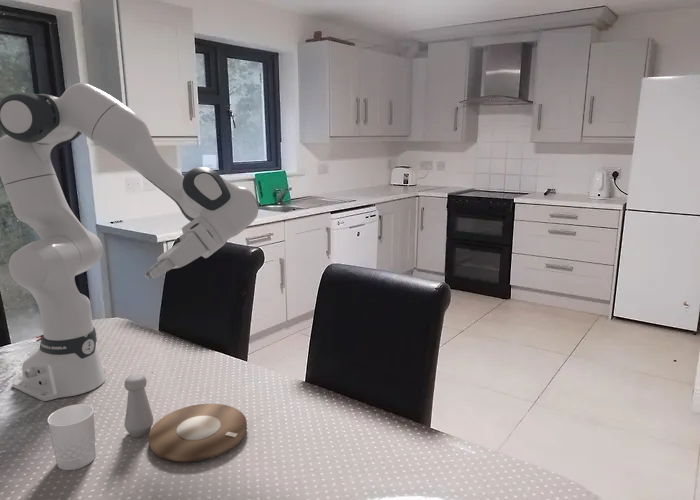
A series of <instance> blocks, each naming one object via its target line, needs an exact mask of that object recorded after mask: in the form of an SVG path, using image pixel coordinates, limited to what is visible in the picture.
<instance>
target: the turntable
mask: <svg viewBox="0 0 700 500" xmlns="http://www.w3.org/2000/svg"><path fill="white" fill-rule="evenodd" d="M247 429H248V425H247V418H246V415H244V413H243V412H242V411H241V410H239V409H237V408H235V407H233V406H231V405H227V404H223V403H221V404H220V403H199V404H194V405H189V406H185V407H182V408H179V409H176V410H173V411H172V412H169V413H167V414H166V415H164V416H162V417H161V418H159V419H158V420H157V422H155V423H154V425H152V427H151V430H150V431H149V433H148V445H149V448H150V450H151V451H152V452H153V453H154V454H155V455H156V456H158V457H161V458H162V459H166V460H168V461H174V462H196V461H202V460H207V459H211V458H213V457H217V456H220V455H222V454H223V453H226V452H228V451H230V450H232V449H233V448H234V447H236V446H237V445H238V444H239V443H240V442H241V441H242V440H243V439H244V437H245V436H246V433H247Z"/></svg>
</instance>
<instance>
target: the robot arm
mask: <svg viewBox="0 0 700 500" xmlns="http://www.w3.org/2000/svg"><path fill="white" fill-rule="evenodd" d="M0 129H1V130H2V131H3V132H4V134H6V135H3V136H2V137H0V179H1V182H2V185H3V187H4V190H5V193H6V195H7V198H8V201H9V203H10V205H11V208H12V210H13V213H14V216H15V217H16V218H17V219H18V221H20V222H22V223H24V224H27V225H28V226H30V228H32V229H33V230H34V231H35V233H36V234H37V235H38V236H39V238H40V239H38V240H35V241H31V242H29V243H26V245H25V244H24V245H23V246H22V247H20V248H19V249H17V250H16V251H14V252H13V253H12V255H11V256H10V258H9V262H8V270H9V271H8V272H9V275H10V276H11V278H12V280H13V281H14V282H15V283H16V284H17V285H19V286H21V287H22V288H24V289H26V290H27V291H28V292H30V294H31V295H32V297H33V299H34V300H35V302H36V305H37V307H38V310H39V315H40V321H41V327H42V335H39V336H36V337H35V341H36V342H40V344H39V347H38V349H37V350H36V351H35V352H33V353H32V354H31V355H30V356H28V357H27V358H26V359H25V360H24V361H23V363H22V367H21V369H22V371H21V372H22V373H21V374H22V375H21V376H19V377H18V378H16V379H15V380H14V381H13V382H12V388H13V389H14V388H15V389H16V390H18V391H20V392H22V393H24V394H27V395H29V396H31V397H34V398H36V399H38V400H40V401H42V402H47V401H52V400H55V399H56V400H57V399H59V398H67V397H74V396H78V395H83V394H85V393H88V392H90V391H93V390H95V389H97V388H98V387H100V386H101V385H102V384H104V382H105V381H106V380H107V376H106V373H105V372H106V366H105V364H103V361H102V357H101V353H100V350H99V349H100V347H99V345H98V343H97V341H98V340H97V339H98V338H97V332H96V328H95V327H94V321H93V314H92V313H93V311H92V305H91V300H90V298H88V296H86V295H85V294H83V293H80V291H79V289H78V286H77V284H76V280H75V279H76V278H75V277H76V276H78V275H80V274H83V273H84V272H87V271H89V270H90V269H92V268H93V267H94V266H95V265H96V264H97V263H99V262H100V261H101V259H102V257H103V254H104V247H103V243H102V241H101V239H100V238H99V237H98V236H97V234H95V233H93V232H92V231H90V230H88V229H87V228H86V227H85V226H84V225H83V224H82V223H81V222H80V221H79V219H78V218H77V216H76V215H75V214H74V212H73V211H72V209H71V208H70V206H69V204H68V202H67V199H66V197H65V194H64V192H63V189H62V187H61V184H60V181H59V179H58V177H57V173H56V170H55V168H54V166H53V163H52V159H51V152H52V150H53V149H54V150H60V149H62V148H63V147H64V146H66V145H68V144H69V143H72V142H73V141H75V140H76V139H78V138H79V137H80V136H82V134H83V135H84V136H85V137H87V138H88V139H89V140H90V141H92V142H93V143H95V144H96V145H98V146H99V147H101V148H102V149H104V150H105V151H107V152H108V153H110V155H113V156H114V157H116V158H117V159H118V160H120V161H122V162H123V163H125V164H126V165H128V167H130V168H132V169H133V170H134V171H136V172H137V173H139V174H140V175H141V176H142V177H144V178H145V179H146V180H148V181H149V182H150V183H151V184H152V185H154V186H155V187H156V188H157V189H159V190H160V191H161V192H163V193H164V195H166V196H168V197H169V198H170V199H171V200H173V202H175V204H176V205H177V207H178V208H179V210H180V211H181V213H182V215H183V216H184V217H185V219H187V220H188V221H189V222H188V223H186V225H183V227H181V231H182V234H181V235H179V236H178V237H179V242H177V243H176V244H174V245H173V246H171V247H170V248H169V249H168V250H166V251H164V252H163V253H162V254H160V255H159V256H158V257H157V258H156V261H157V262H156V263H155V264H153V266H151V267H150V269H148V270H147V271H145V273H144V276H145V277H146V278H147V279H148V280H151V279H155V280H156V279H158V278H159V277H161V276H162V275H163V274H165V273H167V272H169V271H170V270H173V269H180V268H182V267H185V266H186V265H188V264H190V263H192V262H194V261H195V260H197V259H199V258H200V257H202V258H204V259H207V258H208V259H209V257H210V256H212V255H213V254H214V253H216V252H218V250H219V249H221V248H222V247H224V246H225V244H226V243H227V242H228V241H229V240H230V239H231V238H235V237H237V236H238V235H239V234H241V233H242V232H243V231H244V230H245V229H246V228H248V227H249V226H250V225H251V224H252V223H254V221H255V220H256V219H257V217H258V215H259V205H258V202H257V200H256V198H255V195H254V194H253V193H252V192H251V190H249V188H247V187H244V186H239V185H236V184H233V183H232V182H230V181H229V180H227V179H225V177H223V176H221V175H220V174H219V172H217V171H215V170H214V169H212V168H210V167H206V166H198V167H194V168H192V169H190V170H188V171H187V173H185V174H184V175H183V174H182V173H181V172H179V171H178V170H177V169H176V168H175V167H173V166H172V165H171V164H170V163H168V162H167V161H166V160H165V159H164V158H163V157H162V155H161V154H160V153H159V150H158V149H157V147H156V145H155V142H154V140H153V138H152V135H151V133H150V130H149V127H148V125H147V124H146V123H145V121H143V119H141V117H140V116H139V115H138V114H137V113H136V112H135V111H134V110H132V109H131V108H130V107H129V106H127V105H125V104H124V103H123V102H121V101H119V100H118V99H117V98H116V97H113V95H111V94H108V93H107V92H105V91H103V90H102V89H101V88H97V87H95V85H92V84H89V83H85V82H78V83H74V84H72V85H70V86H69V87H68V88H66V89H65V91H64V92H63V93H62V94H61V96H59V97H58V96H54V95H50V94H47V93H46V94H45V93H32V92H17V93H13V94H9V95H7V96H5V97H4V98H2V99H1V101H0ZM36 339H37V340H36Z"/></svg>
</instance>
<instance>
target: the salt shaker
mask: <svg viewBox="0 0 700 500" xmlns="http://www.w3.org/2000/svg"><path fill="white" fill-rule="evenodd" d="M147 382H148V381H147V378H146V376H145V375H144V374H140V373H135V374H132V375H129V376H128V377H126V378H125V380H124V385H123V386H124V388H125V390H126V391H128V392H127V393H128V394H127V402H126V409H125V418H124V428H125V430H126V431H127V433H128V434H129V436H130V437H131V438H133V437H134V438H141V437H144V436H147V435H149V433H150V430H151V428H152V427H153V426H154V425H153V424H154V419H155V418H154V415H153V412H152V407H151V404H150V402H149V399H148V396H147V395H148V394H147V392H146V389H145V387H147Z"/></svg>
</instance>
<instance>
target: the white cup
mask: <svg viewBox="0 0 700 500" xmlns="http://www.w3.org/2000/svg"><path fill="white" fill-rule="evenodd" d="M94 410H95V409H94V407H93V406H91V405H89V404H87V403H86V404H85V403H79V404H70V405H67V406H64V407H61V408H59V409H57V410H54V411H53V412H52V413H51V414H50V415H48V418H47V420H46V421H47V426H48V430H49V435H50V442H51V445H52V449H53V454H54V457H55V461H56V465H57V467H58V469H60V470H63V471H75V470H79V469H82V468H85V466H88V465H90V464H91V463H92V462H93V461H94V460H95V458H96V452H97V451H96V429H95V428H96V426H95V413H94Z"/></svg>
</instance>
